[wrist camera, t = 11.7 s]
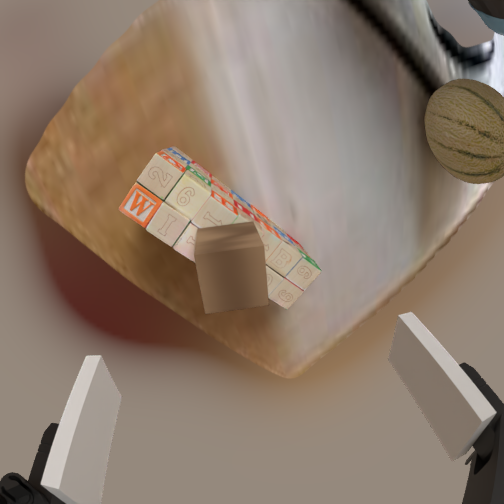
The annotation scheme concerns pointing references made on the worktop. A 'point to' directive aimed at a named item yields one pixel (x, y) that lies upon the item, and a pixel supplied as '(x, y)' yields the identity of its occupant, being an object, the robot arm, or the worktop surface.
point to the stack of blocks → (212, 219)
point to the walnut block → (231, 267)
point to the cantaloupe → (467, 130)
